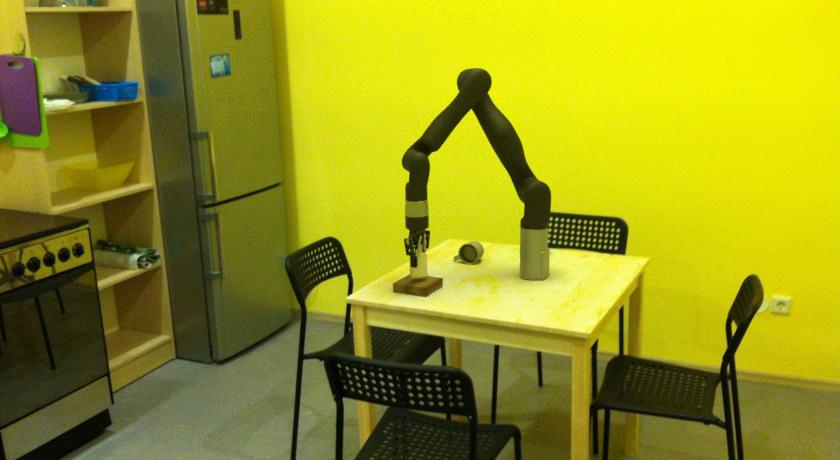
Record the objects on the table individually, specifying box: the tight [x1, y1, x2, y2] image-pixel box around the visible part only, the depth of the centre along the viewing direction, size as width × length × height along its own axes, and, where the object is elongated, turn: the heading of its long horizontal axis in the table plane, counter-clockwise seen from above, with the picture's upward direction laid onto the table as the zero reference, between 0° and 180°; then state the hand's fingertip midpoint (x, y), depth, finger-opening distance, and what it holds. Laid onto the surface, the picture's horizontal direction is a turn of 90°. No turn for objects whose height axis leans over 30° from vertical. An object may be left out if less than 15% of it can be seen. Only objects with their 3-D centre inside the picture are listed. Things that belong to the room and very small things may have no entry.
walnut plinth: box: [392, 273, 444, 298], centre depth 263 cm, size 12×12×3 cm
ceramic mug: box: [453, 240, 485, 265], centre depth 295 cm, size 11×8×8 cm
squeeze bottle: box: [409, 244, 428, 278], centre depth 261 cm, size 4×6×12 cm
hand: (418, 264), depth 262 cm, fingers closed on squeeze bottle, 5 cm apart
